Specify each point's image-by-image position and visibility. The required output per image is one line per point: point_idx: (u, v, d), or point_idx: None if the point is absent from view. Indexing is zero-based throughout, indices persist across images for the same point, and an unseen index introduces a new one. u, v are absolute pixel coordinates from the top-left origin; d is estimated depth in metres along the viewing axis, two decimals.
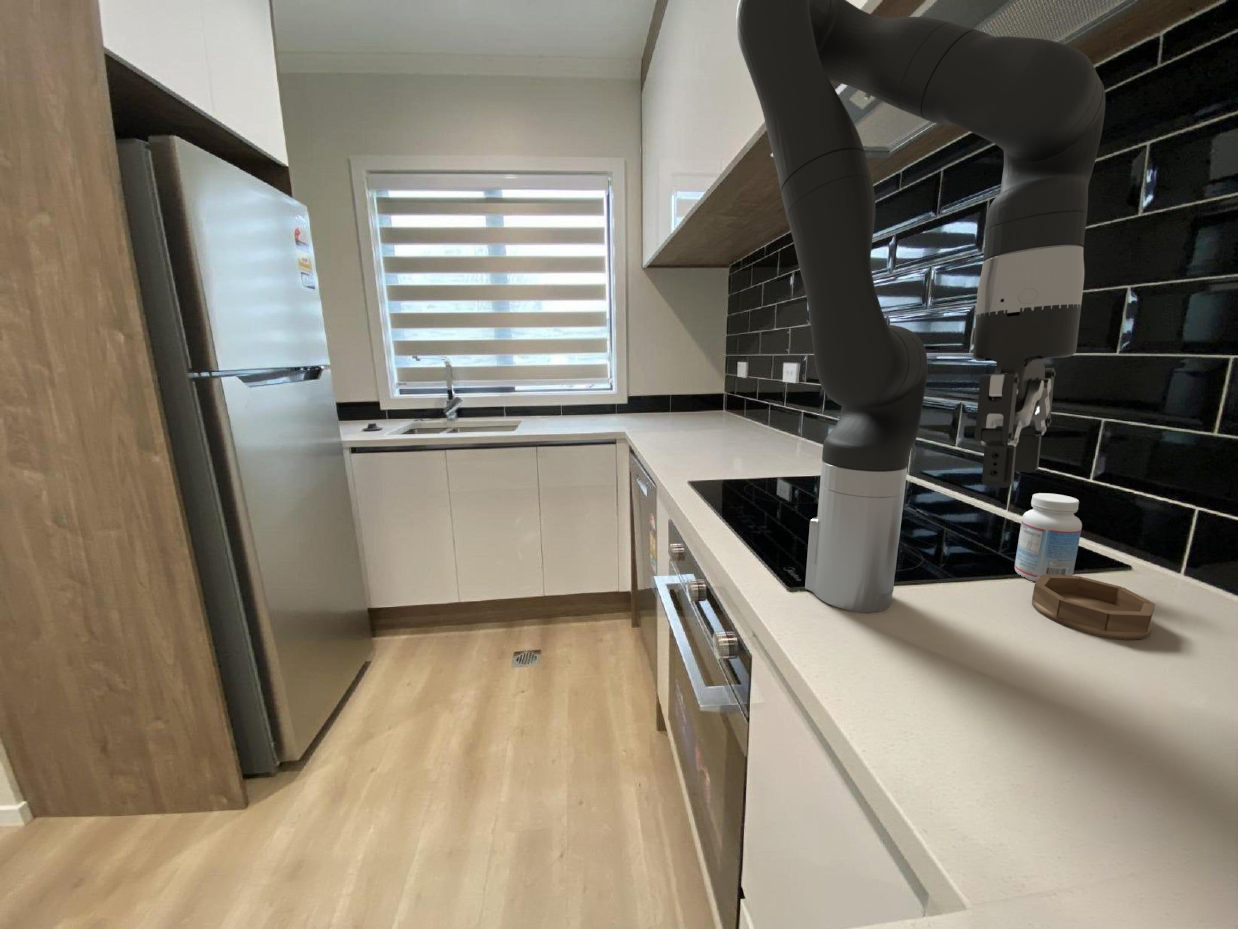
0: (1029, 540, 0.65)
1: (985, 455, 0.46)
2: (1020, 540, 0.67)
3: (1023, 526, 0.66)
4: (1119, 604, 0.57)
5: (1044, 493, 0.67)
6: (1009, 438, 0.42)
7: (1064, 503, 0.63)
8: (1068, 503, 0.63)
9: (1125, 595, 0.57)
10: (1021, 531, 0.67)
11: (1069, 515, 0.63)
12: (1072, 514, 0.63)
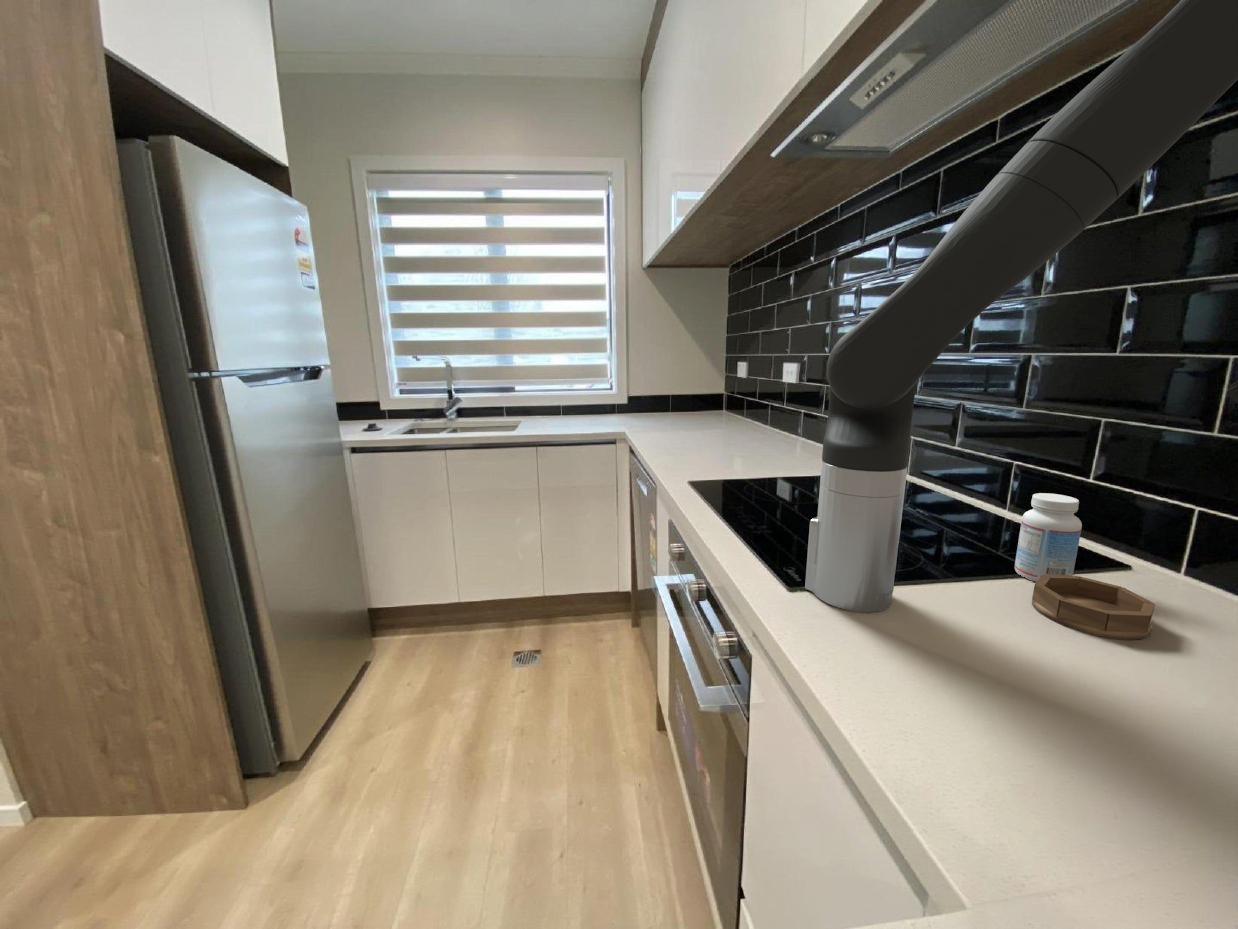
0: (1029, 540, 0.65)
1: None
2: (1020, 540, 0.67)
3: (1023, 526, 0.66)
4: (1119, 604, 0.57)
5: (1044, 493, 0.67)
6: None
7: (1064, 503, 0.63)
8: (1068, 503, 0.63)
9: (1125, 595, 0.57)
10: (1021, 531, 0.67)
11: (1069, 515, 0.63)
12: (1072, 514, 0.63)
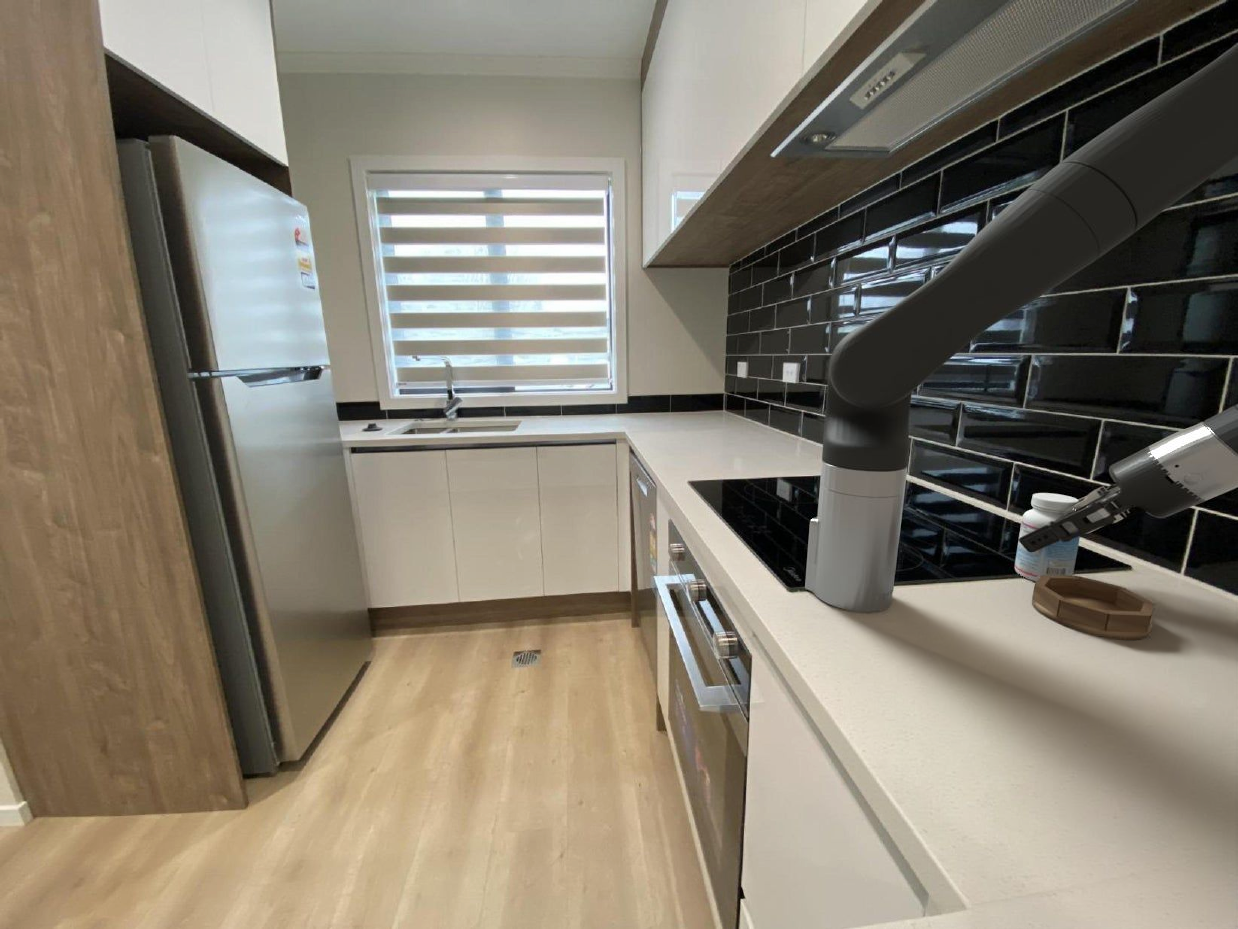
0: None
1: (1039, 529, 0.64)
2: None
3: (1023, 526, 0.66)
4: (1119, 604, 0.57)
5: (1044, 493, 0.67)
6: (1066, 541, 0.60)
7: (1064, 503, 0.63)
8: (1068, 503, 0.63)
9: (1125, 595, 0.57)
10: (1021, 531, 0.67)
11: None
12: None
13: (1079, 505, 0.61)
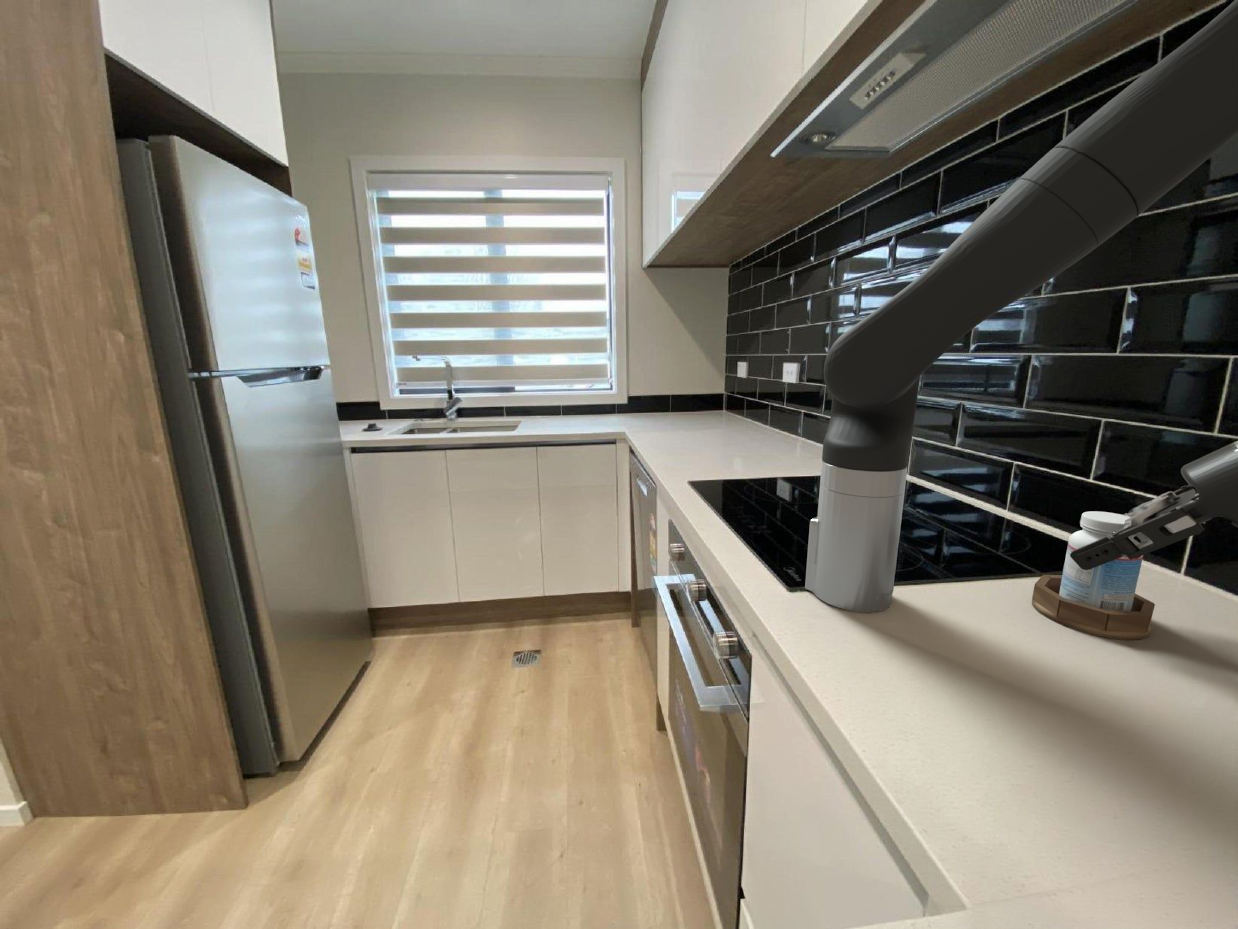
0: (1079, 568, 0.55)
1: (1097, 542, 0.52)
2: (1067, 567, 0.57)
3: (1071, 551, 0.56)
4: None
5: (1095, 511, 0.56)
6: (1134, 557, 0.49)
7: (1123, 525, 0.52)
8: None
9: None
10: (1068, 556, 0.57)
11: None
12: (1132, 538, 0.53)
13: (1147, 513, 0.50)
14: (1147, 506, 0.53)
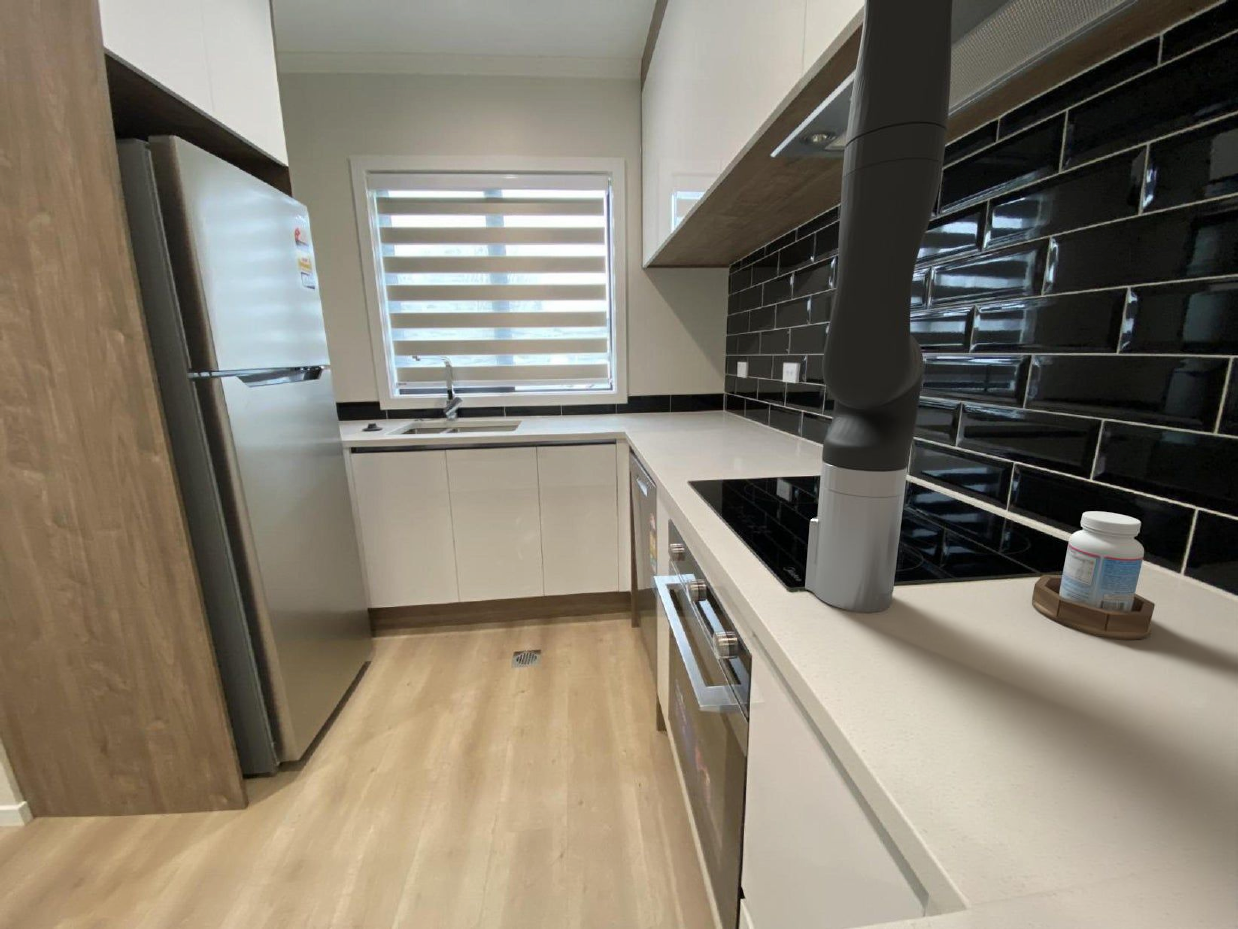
0: (1080, 568, 0.55)
1: None
2: (1067, 567, 0.57)
3: (1072, 551, 0.56)
4: None
5: (1096, 511, 0.56)
6: None
7: (1124, 525, 0.52)
8: (1129, 525, 0.52)
9: None
10: (1068, 556, 0.57)
11: (1129, 538, 0.53)
12: (1133, 538, 0.53)
13: None
14: None
